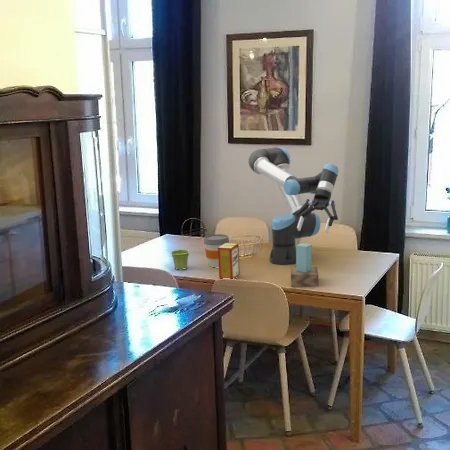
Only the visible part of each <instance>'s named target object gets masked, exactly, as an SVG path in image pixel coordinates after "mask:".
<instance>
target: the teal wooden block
mask: <svg viewBox="0 0 450 450" xmlns="http://www.w3.org/2000/svg"><path fill="white" fill-rule="evenodd" d="M295 245H296V263H295V265H296V271H299V272H304V273H306V272H308V271H310V270H311V267H312V255H313V254H312V249H313V248H312V247H313V246H312V243H306V242H304V243H303V242H301V243H297V244H295Z"/></svg>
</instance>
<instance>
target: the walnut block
mask: <svg viewBox="0 0 450 450" xmlns="http://www.w3.org/2000/svg"><path fill="white" fill-rule="evenodd" d="M290 284H291V285H290V287H291V288H306V287H307V288H308V287H310V288H315V287H317V288H319V271H318V266H311V270H310V271H308V272H306V273H304V272H299V271H296V267H295V266H294V267H293V266H291V267H290Z"/></svg>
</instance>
